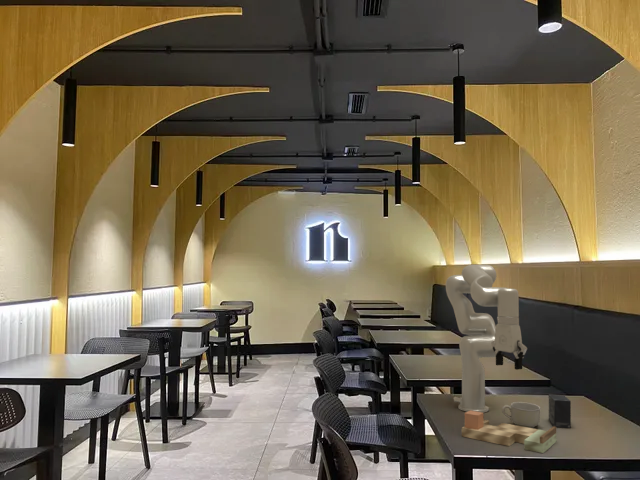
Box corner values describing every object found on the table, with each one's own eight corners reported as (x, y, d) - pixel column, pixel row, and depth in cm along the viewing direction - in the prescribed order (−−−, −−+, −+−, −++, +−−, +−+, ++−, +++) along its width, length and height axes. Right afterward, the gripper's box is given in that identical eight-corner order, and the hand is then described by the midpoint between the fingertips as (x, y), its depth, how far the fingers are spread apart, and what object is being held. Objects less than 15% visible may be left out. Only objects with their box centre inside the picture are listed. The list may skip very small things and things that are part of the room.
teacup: (539, 424, 210) (539, 403, 211) (541, 431, 200) (541, 409, 201) (502, 420, 215) (501, 400, 216) (501, 427, 205) (501, 406, 205)
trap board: (461, 436, 193) (461, 422, 193) (478, 426, 206) (478, 413, 206) (543, 453, 176) (542, 437, 176) (556, 441, 188) (556, 426, 189)
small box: (572, 428, 204) (571, 400, 205) (553, 427, 206) (553, 399, 206) (565, 421, 215) (564, 394, 215) (547, 420, 216) (547, 393, 217)
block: (464, 427, 194) (464, 413, 194) (470, 424, 198) (470, 410, 198) (478, 429, 191) (478, 415, 191) (483, 426, 195) (483, 412, 195)
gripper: (484, 319, 210) (485, 364, 209) (517, 323, 194) (518, 371, 193) (499, 319, 213) (500, 363, 212) (533, 322, 197) (534, 370, 196)
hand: (508, 367), depth 202 cm, fingers open, 9 cm apart
